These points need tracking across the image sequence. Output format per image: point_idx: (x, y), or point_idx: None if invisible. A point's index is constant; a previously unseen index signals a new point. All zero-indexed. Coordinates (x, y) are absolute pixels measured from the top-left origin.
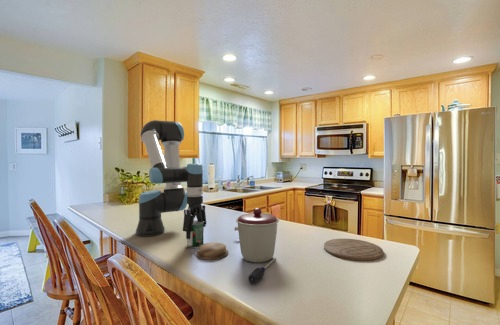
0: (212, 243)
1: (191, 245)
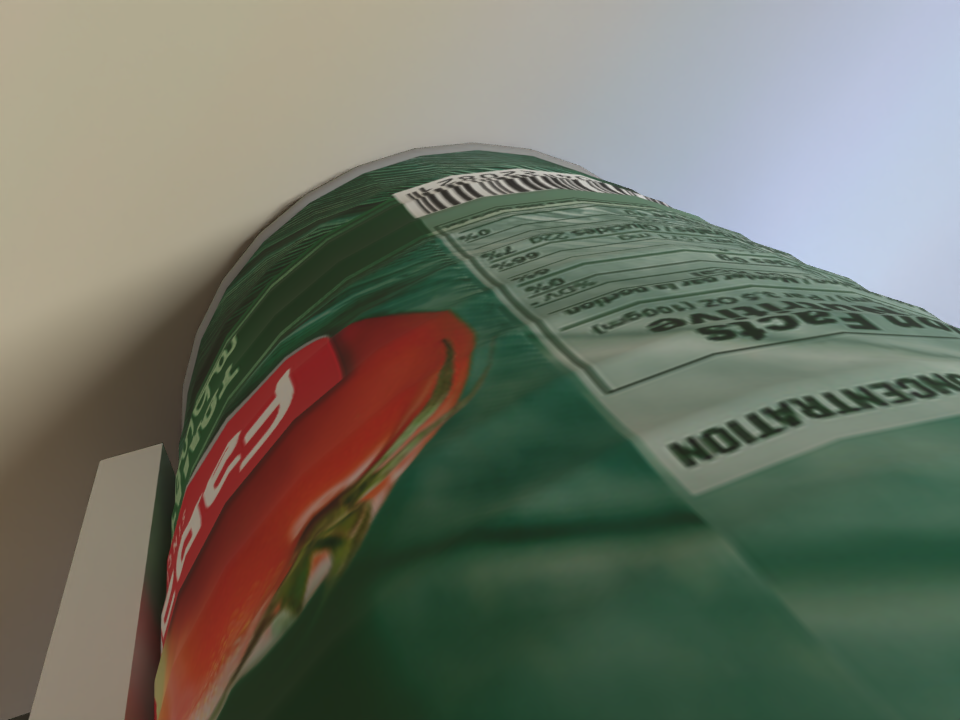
0: None
1: None
